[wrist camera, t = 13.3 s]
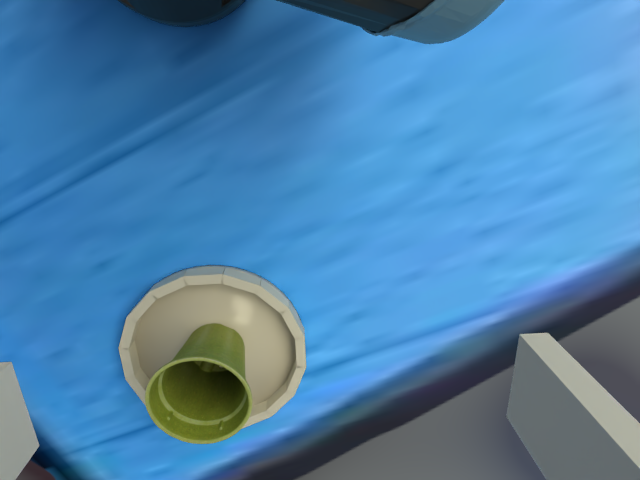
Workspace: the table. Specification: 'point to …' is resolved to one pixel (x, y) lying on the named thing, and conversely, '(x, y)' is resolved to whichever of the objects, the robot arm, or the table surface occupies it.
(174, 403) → the plant pot
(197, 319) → the saucer
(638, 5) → the table surface
